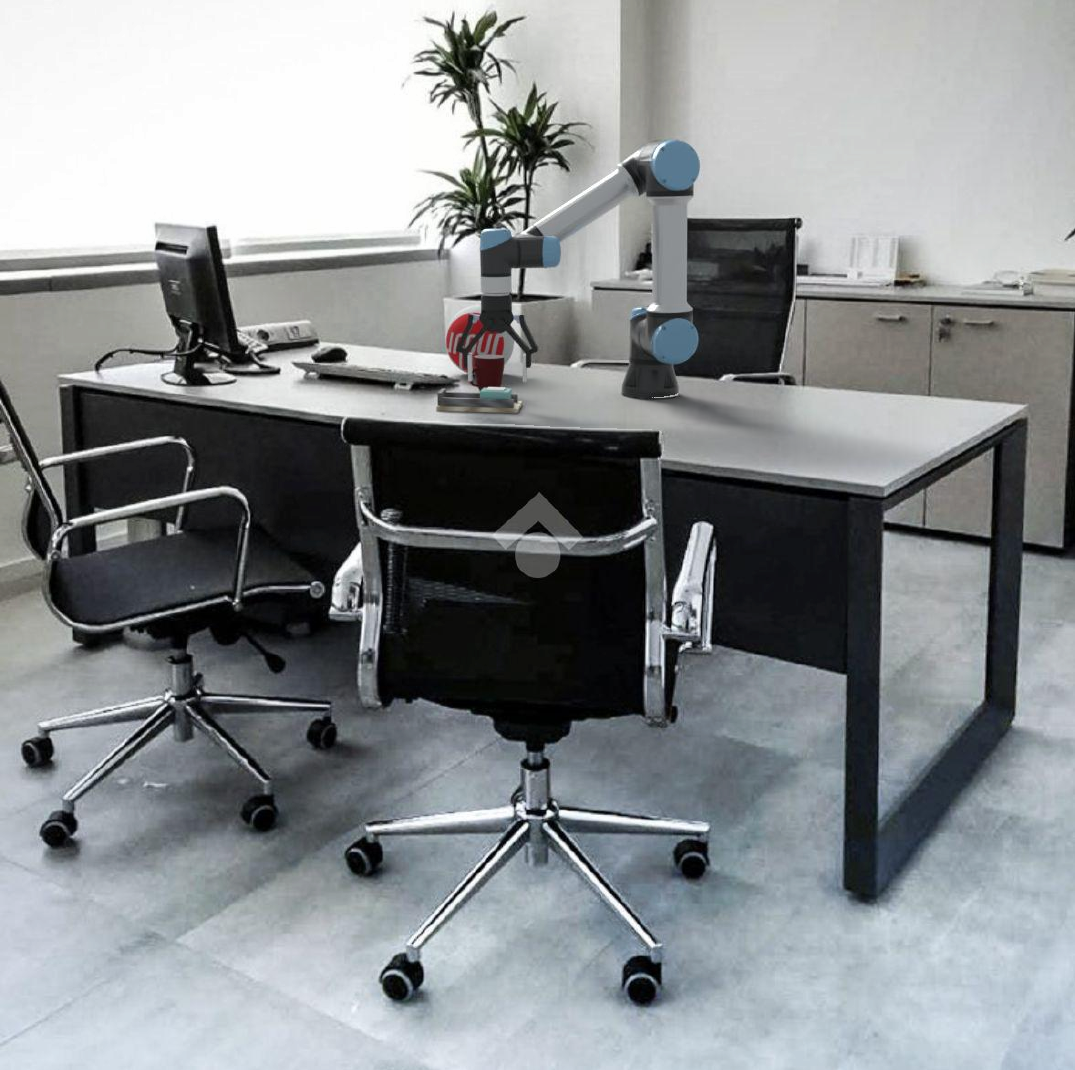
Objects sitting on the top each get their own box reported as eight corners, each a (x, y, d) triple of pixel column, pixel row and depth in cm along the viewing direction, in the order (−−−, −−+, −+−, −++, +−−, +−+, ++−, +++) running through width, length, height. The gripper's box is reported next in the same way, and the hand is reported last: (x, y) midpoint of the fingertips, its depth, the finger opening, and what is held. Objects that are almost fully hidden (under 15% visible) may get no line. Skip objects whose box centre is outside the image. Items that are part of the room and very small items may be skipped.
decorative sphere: (436, 378, 371) (435, 307, 366) (456, 368, 390) (455, 300, 385) (504, 382, 367) (505, 309, 362) (521, 371, 386) (521, 302, 380)
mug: (481, 399, 340) (481, 360, 337) (460, 395, 345) (460, 357, 343) (510, 394, 348) (510, 356, 345) (489, 390, 353) (489, 353, 350)
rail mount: (521, 405, 333) (522, 389, 332) (517, 412, 322) (517, 396, 321) (443, 402, 334) (443, 387, 333) (436, 410, 324) (436, 394, 323)
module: (511, 402, 330) (511, 386, 329) (507, 406, 324) (508, 390, 323) (483, 401, 331) (483, 385, 330) (479, 405, 325) (479, 389, 324)
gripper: (548, 292, 323) (549, 378, 329) (447, 292, 325) (450, 377, 331) (546, 295, 316) (546, 383, 321) (443, 295, 318) (445, 382, 324)
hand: (497, 380), depth 326 cm, fingers open, 13 cm apart
